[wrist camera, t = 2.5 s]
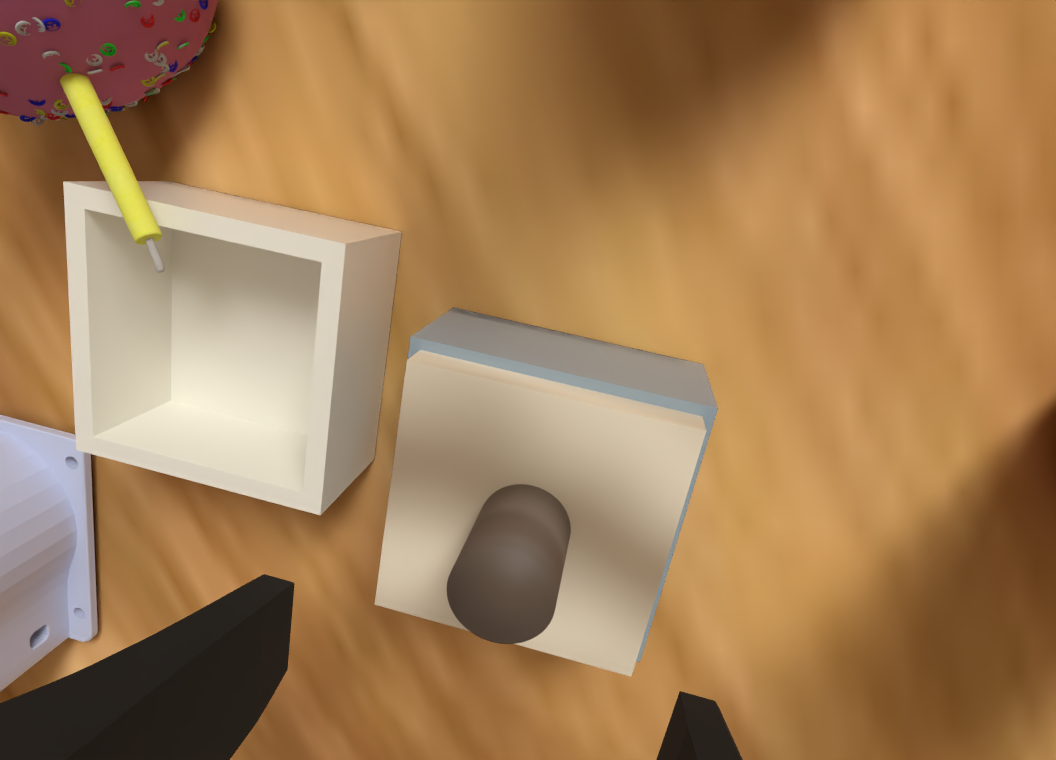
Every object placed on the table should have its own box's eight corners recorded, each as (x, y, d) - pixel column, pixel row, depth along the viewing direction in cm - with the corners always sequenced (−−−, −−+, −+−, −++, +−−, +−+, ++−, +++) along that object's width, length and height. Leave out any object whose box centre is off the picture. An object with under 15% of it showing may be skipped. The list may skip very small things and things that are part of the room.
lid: (631, 651, 18) (628, 773, 15) (387, 583, 19) (325, 682, 15) (702, 416, 16) (720, 489, 12) (420, 350, 17) (355, 399, 13)
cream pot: (374, 459, 23) (320, 515, 19) (167, 406, 23) (76, 449, 20) (401, 231, 20) (345, 244, 16) (168, 181, 21) (63, 181, 17)
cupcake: (109, -1, 22) (278, 289, 21) (-267, -59, 16) (-52, 354, 15) (173, -278, 17) (407, 96, 15) (-369, -544, 10) (-35, 65, 9)
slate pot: (640, 580, 22) (639, 662, 18) (420, 522, 23) (377, 589, 19) (703, 364, 20) (718, 408, 16) (453, 307, 20) (410, 336, 17)
